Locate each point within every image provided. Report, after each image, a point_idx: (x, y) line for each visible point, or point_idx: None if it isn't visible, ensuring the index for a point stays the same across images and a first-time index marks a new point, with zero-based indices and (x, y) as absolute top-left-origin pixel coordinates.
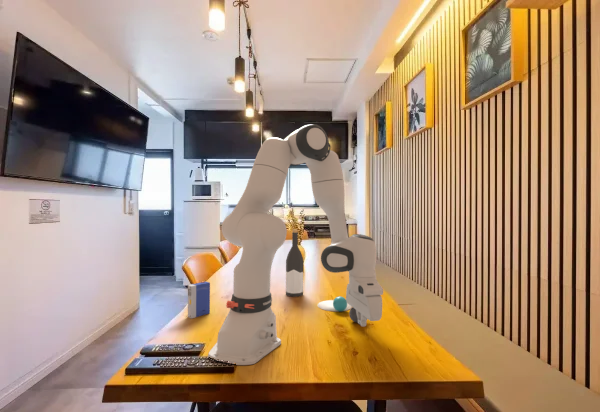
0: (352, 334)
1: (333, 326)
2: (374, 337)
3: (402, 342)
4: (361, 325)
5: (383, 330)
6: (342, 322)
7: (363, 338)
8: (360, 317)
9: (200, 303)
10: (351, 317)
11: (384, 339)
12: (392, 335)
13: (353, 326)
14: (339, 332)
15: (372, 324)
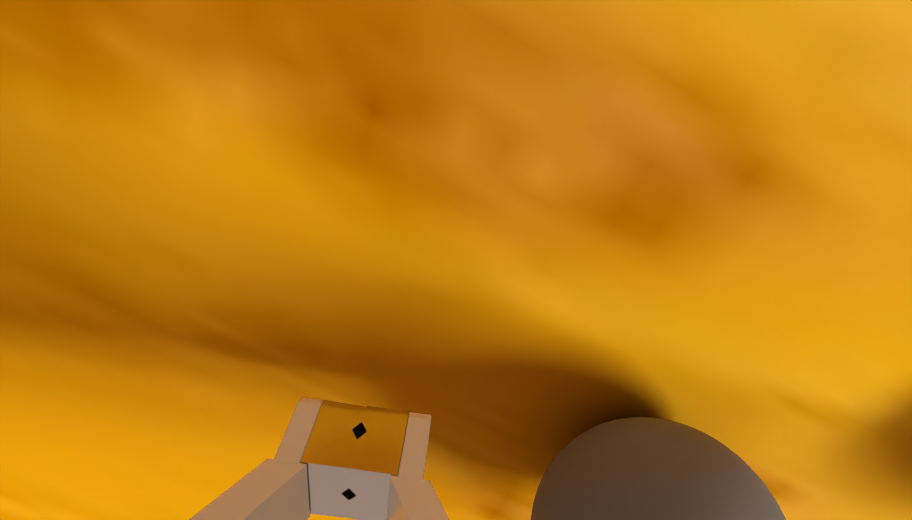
0: (254, 194)
1: (691, 68)
2: (137, 368)
3: (26, 483)
4: (298, 403)
5: None
6: (742, 296)
7: (104, 254)
8: (393, 516)
9: None
10: (645, 445)
11: (85, 414)
12: (184, 500)
13: (524, 345)
14: (379, 30)
15: (487, 510)
